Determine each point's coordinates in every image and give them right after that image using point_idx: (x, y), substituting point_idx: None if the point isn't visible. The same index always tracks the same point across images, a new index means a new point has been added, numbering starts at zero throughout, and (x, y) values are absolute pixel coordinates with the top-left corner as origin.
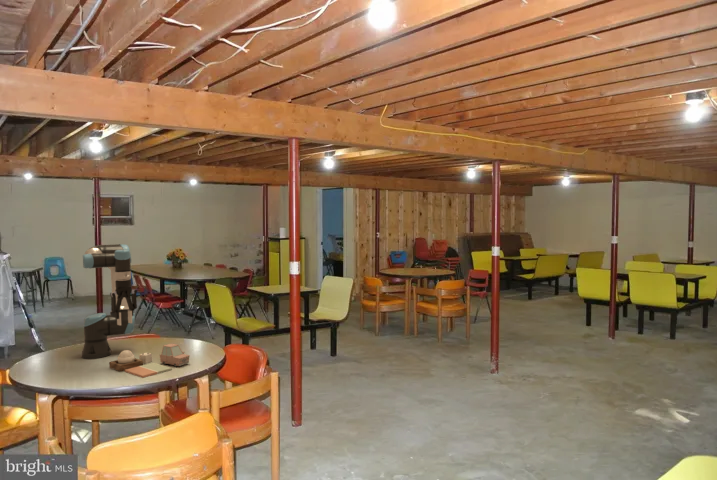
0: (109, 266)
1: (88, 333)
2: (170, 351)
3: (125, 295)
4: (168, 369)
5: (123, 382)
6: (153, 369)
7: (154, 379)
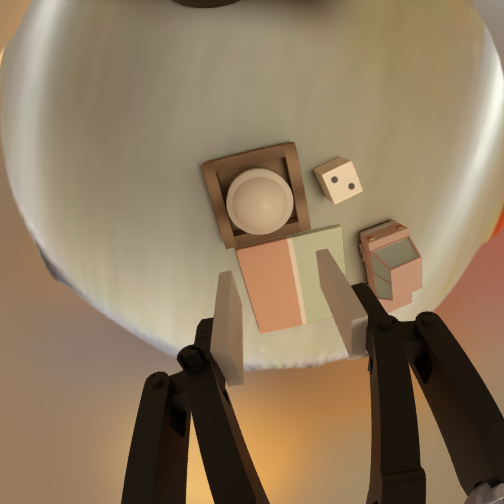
0: None
1: None
2: (384, 294)
3: None
4: None
5: None
6: (306, 299)
7: (277, 352)
